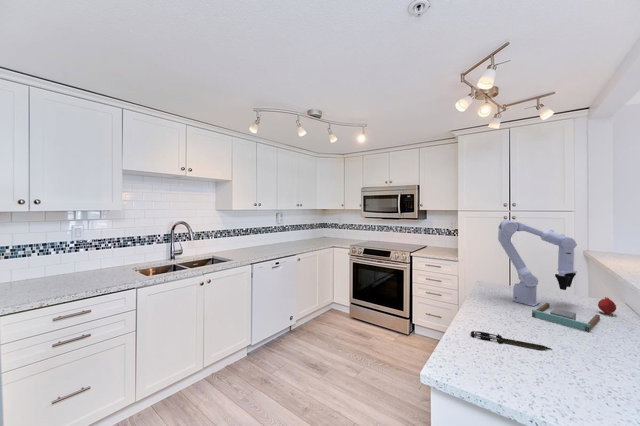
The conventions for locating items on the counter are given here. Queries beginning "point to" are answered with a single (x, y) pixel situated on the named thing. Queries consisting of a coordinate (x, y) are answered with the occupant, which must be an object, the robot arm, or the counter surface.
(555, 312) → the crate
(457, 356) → the counter surface
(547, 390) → the counter surface
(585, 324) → the bay
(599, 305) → the red rounded lump
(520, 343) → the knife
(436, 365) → the counter surface
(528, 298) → the robot arm
